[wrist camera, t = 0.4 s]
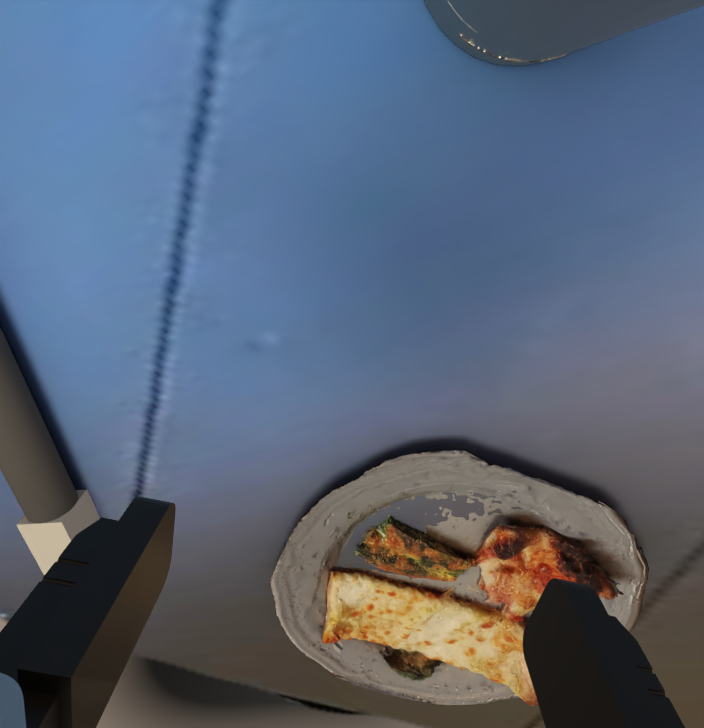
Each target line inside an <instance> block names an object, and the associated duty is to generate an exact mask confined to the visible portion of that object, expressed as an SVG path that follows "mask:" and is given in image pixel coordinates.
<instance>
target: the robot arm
mask: <svg viewBox="0 0 704 728" xmlns="http://www.w3.org/2000/svg"><path fill="white" fill-rule="evenodd" d="M424 2H425V5H426V7H427V8H428V10H429V12H430V13H431V15H432V17H433V18H434V20H435V22H436V23H437V25H438V27H439V28H440V29H441V30H442V31H443V32H444V33H445V34H446V36H447V37H448V38H449V39H450V40H451V41H452V42H453V43H454V44H455V45H456V46H458V47H459V48H461V49H462V50H464V51H466V52H467V53H469V54H470V55H472V56H473V57H475V58H477V59H481V60H484V61H487V62H490V63H493V64H496V65H509V66H524V65H529V64H534V63H540V62H545V61H548V60H552V59H556V58H560V57H563V56H566V55H568V53H570V52H573V51H576V50H579V49H582V48H585V47H588V46H591V45H593V44H596V43H599V42H602V41H605V40H608V39H610V38H613V37H616V36H619V35H622V34H625V33H627V32H630V31H633V30H636V29H639V28H641V27H644V26H647V25H650V24H653V23H656V22H658V21H661V20H664V19H667V18H670V17H672V16H675V15H678V14H681V13H684V12H687V11H689V10H692V9H695V8H698V7H701V6H703V5H704V0H424ZM174 521H175V504H174V503H170V502H165V501H160V500H154V499H149V498H144V497H139V496H138V497H136V498H135V499H134V500H133V501H132V502H131V504H130V505H129V507H128V508H127V509H126V511H125V512H124V514H123V515H122V517H121V518H120V520H119V521H117V520H112V519H106V518H100V519H99V520H97V521H96V522H94V523H93V524H91V525H90V526H88V527H87V528H85V529H84V530H82V531H81V532H79V533H78V534H76V535H75V537H74V538H73V539H72V541H71V542H70V543H69V544H68V546H67V547H66V548H65V550H64V551H63V552H62V553H61V555H60V556H59V558H58V561H57V562H55V563H54V564H53V565H52V566H51V568H50V569H49V570H48V572H47V573H46V574H45V575H44V578H43V580H42V582H39V583H38V584H37V586H36V587H35V588H34V590H33V591H32V592H31V593H30V595H29V596H28V597H27V599H26V600H25V601H24V602H23V604H22V605H21V606H20V608H19V609H18V610H17V611H16V613H15V614H14V615H13V617H12V618H11V619H10V620H9V622H8V623H7V624H6V626H5V627H4V628H3V630H2V631H1V632H0V728H96V726H97V724H98V722H99V720H100V718H101V716H102V714H103V711H104V709H105V707H106V705H107V703H108V701H109V699H110V697H111V695H112V693H113V691H114V689H115V687H116V685H117V682H118V680H119V678H120V676H121V674H122V672H123V670H124V668H125V666H126V664H127V662H128V660H129V657H130V655H131V653H132V651H133V649H134V647H135V645H136V643H137V641H138V639H139V637H140V634H141V632H142V630H143V628H144V626H145V624H146V622H147V620H148V618H149V616H150V614H151V612H152V609H153V607H154V605H155V603H156V601H157V599H158V597H159V595H160V593H161V591H162V588H163V586H164V583H165V581H166V577H167V574H168V571H169V567H170V562H171V555H172V544H173V533H174ZM523 653H524V658H525V662H526V665H527V668H528V671H529V675H530V678H531V681H532V684H533V688H534V691H535V694H536V697H537V701H538V704H539V707H540V710H541V714H542V717H543V720H544V723H545V727H546V728H685V727H684V725H683V723H682V721H681V720H680V718H679V716H678V714H677V712H676V710H675V709H674V707H673V705H672V703H671V701H670V700H669V698H667V697H665V691H664V689H663V687H662V685H661V683H660V682H659V680H658V678H657V676H656V674H653V673H652V667H651V665H650V663H649V662H648V660H647V658H646V656H645V654H644V653H643V651H642V649H641V647H640V645H639V643H638V642H637V640H636V639H635V638H634V637H633V636H632V635H631V634H630V633H629V632H628V630H627V629H626V628H625V627H624V626H623V625H622V624H621V623H620V621H619V620H618V619H617V618H616V617H615V616H610V615H608V613H607V611H606V609H605V607H604V605H603V603H602V601H601V600H600V598H599V596H598V594H597V592H596V590H595V589H594V588H593V587H592V586H590V585H588V584H583V583H578V582H572V581H567V580H562V579H557V578H553V579H551V580H550V581H549V582H548V583H547V585H546V587H545V589H544V591H543V593H542V595H541V597H540V598H539V600H538V602H537V604H536V606H535V608H534V610H533V612H532V614H531V616H530V618H529V620H528V622H527V624H526V626H525V629H524V633H523Z"/></svg>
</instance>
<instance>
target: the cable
mask: <svg viewBox="0 0 704 728" xmlns="http://www.w3.org/2000/svg"><path fill="white" fill-rule="evenodd" d="M0 469H1V471H2V473H3V475H4V477H5V479H6V480H7V482H8V484H9V486H10V488H11V490H12V492H13V494H14V495H15V497H16V499H17V501H18V503H19V505H20V507H21V508H22V510H23V512H24V514H25V515H24V517H23V518H22V519H21V520H20V521H19V522H18V523H17V527H18V529H19V531H20V532H21V534H22V536H23V538H24V540H25V541H26V543H27V545H28V547H29V549H30V550H31V552H32V554H33V556H34V558H35V559H36V561H37V563H38V565H39V567H40V568H41V570H42V572H43V574H44V575H45V574H46V573H47V572H48V570H49V569H50V568H51V566H52V565H53V564H54V563H55V562H57V561H58V558H59V556H60V555H61V553H62V552H63V551H64V550H65V548H66V547H67V546H68V544H69V543H70V542H71V541H72V539H73V538H74V537H75V535H76V534H78V533H79V532H81V531H82V530H84V529H85V528H87V527H88V526H90V525H91V524H93V523H94V522H96V521H97V520H99V519H100V517H99V515H98V513H97V510H96V508H95V506H94V504H93V501H92V499H91V497H90V495H89V492H88V490H87V489H86V490H75V488H74V486H73V484H72V481H71V479H70V477H69V475H68V473H67V471H66V468H65V466H64V464H63V462H62V460H61V458H60V455H59V453H58V451H57V449H56V447H55V445H54V442H53V440H52V438H51V436H50V434H49V432H48V429H47V427H46V425H45V423H44V421H43V419H42V416H41V414H40V412H39V410H38V408H37V406H36V403H35V401H34V399H33V397H32V395H31V393H30V391H29V388H28V386H27V384H26V382H25V380H24V378H23V375H22V373H21V371H20V369H19V367H18V365H17V362H16V360H15V358H14V356H13V354H12V352H11V349H10V347H9V345H8V343H7V341H6V339H5V336H4V334H3V332H2V330H1V328H0Z"/></svg>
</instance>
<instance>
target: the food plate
mask: <svg viewBox="0 0 704 728" xmlns="http://www.w3.org/2000/svg"><path fill="white" fill-rule="evenodd" d="M471 457H472V458H475V459H479V458H477V457H476V456H474V455H472V454H470V453H468V452H466V451H457V450H455V451H454V450H453V451H445V450H444V451H440V452H437V451H436V452H435V453H434V452H432V451H429V452H422V453H420V454H419V453H418V454H417V453H416V454H410V455H405V456H400V457H398V458H395V459H391V460H387V461H385V462H383V463H382V464H381V465H380V466H377V468H376V467H374V468H372V469H370V470H369V471H365V473H364V475H362V476H361V477H360V478H359V479H357V480H354V481H351V482H350V483H348V484H347V485H344V486H341V488H339V489H336V490H332V491H331V493H330V494H328V495H327V496H325V498H324V497H323V498H322V499H321V500H320V501H319V502H318V504H317V505H316V506H314V507H313V508H311V510H310V511H309V512H308V513H307V514H306V515H305V516H304V517H303V519H301V521H299V522H298V525H297V526H296V527H295V529H294V530H293V531H294V532H293V533H292V534H291V536H290V537H289V539H288V541H287V543H286V547H285V549H283V552H282V553H281V554H282V555H281V556H280V558H279V562H278V563H277V565H276V568H275V571H274V574H273V576H272V577H271V582H270V584H271V590H272V592H273V594H274V595H273V597H274V600H275V602H276V604H275V605H276V606H275V608H276V612H277V616H278V617H279V619H280V621H281V626H283V628H284V630H285V632H286V633H287V635H288V636H289V637H290V640H291V641H292V643H294V644H295V645H296V646H297V647H298V648H299V649H300V650H301V652H303V653H304V654H305V656H308V657H309V658H311V659H314V660H315V661H317V662H318V663H319V664H321V665H322V666H323V667H324V668H326V669H327V670H329V671H330V672H332V673H334V674H337V675H339V676H340V675H341V676H342V677H344V676H345V678H346V679H344V678H339V677H337V676H335V675H333V676H335V677H337V678H339V679H341V680H343V681H346V682H348V683H350V684H353V685H356V686H359V687H362V688H365V689H368V690H372V691H375V692H380V693H382V694H390V695H391V696H397V697H402V698H406V699H411V700H415V699H418V700H417V701H419V698H420V699H422V702H426V701H428V700H430V701H433V702H432V703H433V704H445V705H469V704H478V703H481V704H484V703H486V704H487V703H489V702H495V701H497V700H498V701H499V700H502V699H505V700H508V699H511V698H513V699H515V698H519V699H523V700H524V701H525V702H526V703H527V704H528V705H532V706H534V705H539V704H538V701H537V697H536V694H535V691H534V688H533V684H532V681H531V678H530V675H529V671H528V668H527V665H526V662H525V658H524V653H523V633H524V629H525V626H526V624H527V622H528V620H529V618H530V616H531V614H532V612H533V610H534V608H535V606H536V604H537V602H538V600H539V598H540V597H541V595H542V593H543V591H544V589H545V587H546V585H547V583H548V582H549V581H550V580H551V579H553V578H557V579H562V580H567V581H572V582H578V583H583V584H588V585H590V586H592V587H593V588H594V589H595V590H596V592H597V594H598V596H599V598H600V600H601V601H602V603H603V605H604V607H605V609H606V611H607V613H608V615H610V616H615V617H616V618H617V619H618V620H619V621H620V623H621V624H622V625H623V626H624V627H625V628H626V629H627V630H628V632H630V631H631V629H632V628H634V625H635V623H636V621H637V619H638V616H639V614H640V612H641V607H642V602H643V595H644V592H645V586H646V583H647V580H648V572H649V567H648V563H647V560H646V558H645V556H644V555H641V554H639V551H640V549H641V550H642V548H641V547H639V546H638V545H637V543H636V542H637V541H636V538H635V536H634V535H631V533H630V532H629V531H628V529H627V523H626V521H625V520H624V518H623V517H622V516H621V515H619V514H618V513H616V512H615V511H614V510H613V509H611V508H610V507H608V506H606V505H605V504H604V503H602V502H600V501H599V503H601V504H603V505H605V506H606V507H605V506H603V505H601V504H598V503H596V502H594V501H593V500H591V499H589V498H587V497H584V496H582V495H577V494H575V493H573V492H572V491H568V490H565V489H563V488H562V487H560V486H556V485H554V484H552V483H549V482H547V481H545V480H541V479H540V478H531V477H529V476H526V475H524V474H521V473H520V472H518V471H514V470H513V469H511V468H510V467H508V468H506V467H505V468H503V467H499V466H496V465H492V466H489V465H488V464H487V463H486V462H485V461H483V460H482V461H478V460H475V459H472V458H471ZM479 460H481V459H479ZM512 490H515V491H517V492H516V493H513V492H512ZM445 492H451V493H455V494H456V495H467V496H469V498H470V499H469V498H468V499H467V503H475V502H474V501H472V500H471V499H472V498H476V499H478V500H479V502H482V503H484V510H485V514H484V515H483V516H478V515H476V513H470V514H469V518H470V519H468V520H467V521H466V520H465V518H462V517H457V518H456V517H454V516H452V515H451V510H449V509H447V508H444V509H443V507H439V509H440V510H443V513H442V516H444V517H445V515H446V512H450V513H449V515H448V516H447V517H448V518H449V519H448V520H447V521H445V522H440V523H437V524H438V526H431V525H427V526H425V527H426V529H427V534H424V532H423V531H422V532H421V531H419V530H418V529H414V528H412V527H410V526H408V525H406V524H403V523H401V522H399V521H398V520H395V519H393V518H392V516H390V515H388V516H387V520H386V521H383V522H382V523H381V524H380V525H379V526H371V527H369V528H368V530H367V531H365V533H364V534H363V535H362V536H361V537H362V538H363V541H361V542H360V543H359V549H358V550H356V551H354V553H355V555H359V556H361V557H362V558H363V559H365V560H366V562H367V563H369V564H371V565H372V566H375V567H376V568H378V569H383V570H385V571H387V572H390V571H391V572H395V573H396V574H389V573H385V572H383V573H381V572H379V571H377V570H372V571H369V570H367V569H360V568H352V566H349V569H347V568H342V567H335V564H337V562H338V560H339V556H340V555H341V553H342V551H343V550H344V547H345V545H346V544H347V543H348V540H349V539H350V537H351V536H352V535H353V531H354V530H355V528H356V526H358V525H359V524H360V523H362V522H363V521H364V520H365V519H366V518H367V517H368V516H370V514H371V515H374V514H376V513H377V511H378V510H379V508H384V509H387V508H388V507H391V505H392V503H394V502H396V501H399V500H403V499H404V500H408V499H411V500H414V499H415V496H421V495H425V497H426V498H429V499H433V498H436V499H438V500H439V499H447V498H448V496H447V495H445V494H443V493H445ZM474 493H480V494H482V495H486V496H487V497H489V496H495V497H496V498H495V499H494V498H493V497H491V498H489V499H488V498H487V499H484V500H482V499H481V498H480V497H479V496H476V497H474V496H472V494H474ZM452 497H453V499H452V500H453V501H455V500H456V499H454V494H453V495H452ZM463 500H464V499H463ZM492 500H495V501H497V500H499V501H502V504H499V503H491V501H492ZM435 501H436V500H435ZM487 501H489V502H487ZM489 505H490V506H492V508H489ZM475 506H477V505H475ZM512 507H519V508H521V509H516V510H515V509H511V508H512ZM397 508H398V509H400V508H399V507H397ZM497 508H499V509H500V510H501V511H502V512H501V513H496V512H495V513H493V514H492V515H490V516H489V515H488V511H494V510H495V509H497ZM413 509H414V508H413ZM425 515H426V514H425ZM435 515H436V514H435ZM450 515H451V516H450ZM474 518H477V519H476V521H472V519H474ZM419 520H420V519H419ZM417 523H419V524H420V522H417ZM453 526H455V527H454V528H452V527H453ZM431 528H432V529H431ZM444 541H446V542H444ZM455 542H457V543H455ZM638 547H639V548H638ZM642 554H643V551H642ZM351 569H352V570H351ZM410 577H412V579H410ZM459 583H462V584H461V585H459ZM331 675H332V674H331ZM347 679H350V680H351V681H349V680H347ZM352 681H355V682H356V683H354V682H352ZM357 683H360V684H357ZM361 683H362V684H364V685H368V686H370V687H368V686H364V685H361ZM405 694H406V695H408V696H411V697H412V698H411V697H408V696H406V695H405ZM420 701H421V700H420ZM428 703H430V702H428Z"/></svg>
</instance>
